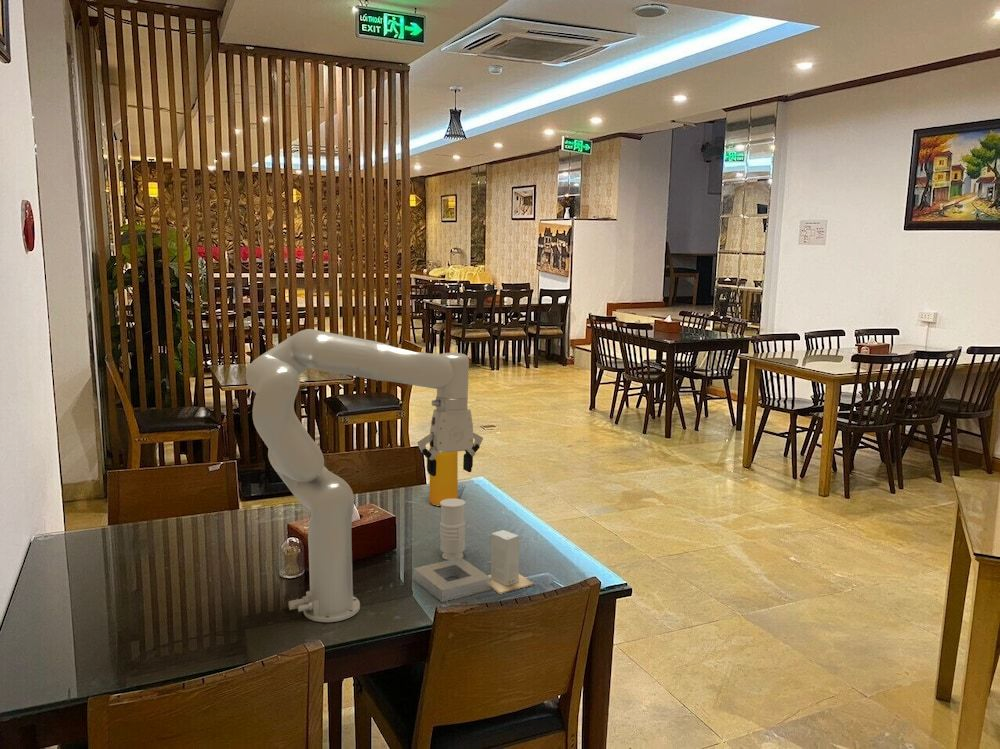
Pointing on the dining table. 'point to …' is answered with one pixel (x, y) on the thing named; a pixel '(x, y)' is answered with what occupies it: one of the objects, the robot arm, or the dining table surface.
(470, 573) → the white rectangular frame
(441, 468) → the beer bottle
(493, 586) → the wooden coaster
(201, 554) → the dining table surface
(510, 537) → the skincare box
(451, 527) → the white ribbed canister
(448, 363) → the robot arm
